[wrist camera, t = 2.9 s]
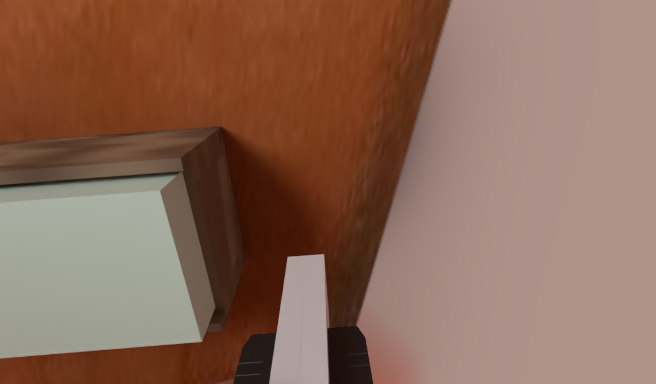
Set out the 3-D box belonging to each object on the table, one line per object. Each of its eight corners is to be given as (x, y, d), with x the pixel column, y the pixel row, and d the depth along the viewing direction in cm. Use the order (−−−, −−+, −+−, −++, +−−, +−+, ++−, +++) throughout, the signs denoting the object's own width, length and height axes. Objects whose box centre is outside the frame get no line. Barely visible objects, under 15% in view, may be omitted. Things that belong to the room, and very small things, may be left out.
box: (57, 275, 25) (-33, 352, 18) (-2, 143, 21) (-143, 182, 15) (246, 260, 25) (222, 331, 18) (221, 126, 21) (180, 158, 15)
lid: (-15, 325, 19) (-61, 363, 17) (-94, 191, 16) (-164, 215, 13) (215, 306, 19) (201, 341, 17) (182, 171, 16) (159, 190, 14)
